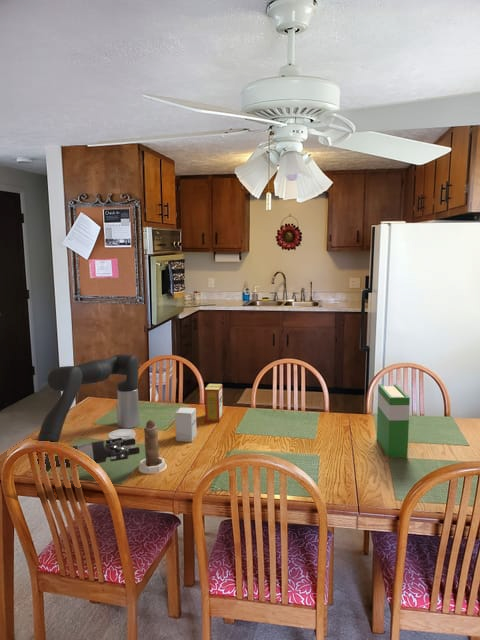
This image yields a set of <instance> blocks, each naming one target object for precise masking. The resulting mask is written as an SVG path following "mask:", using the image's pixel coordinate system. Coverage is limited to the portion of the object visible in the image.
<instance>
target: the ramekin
mask: <svg viewBox="0 0 480 640" xmlns="http://www.w3.org/2000/svg"><path fill="white" fill-rule="evenodd" d="M136 434H137V433H136V431H135V430H134V429H132V428H119V429H115V430H113V431H111V432H109V433H108V435H107V440H111V439H116V438H122V439H124V440H127V439H133V438H134V439H135V440H136ZM118 441H119V440H118ZM133 446H134V445H130V446H124V447H123V448H124V449H130V448H133Z"/></svg>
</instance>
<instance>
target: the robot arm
mask: <svg viewBox="0 0 480 640" xmlns="http://www.w3.org/2000/svg"><path fill="white" fill-rule="evenodd" d="M111 375H123V376H126V377H125V378H126V379H124V380H121V381H119V382H118V383H117V385H116V391H117V405H116V416H117V417H116V419H117V426H119V427H120V428H121V429H132V428H136V427H138V426H139V425H140V407H139V406H140V404H139V389H138V387H139V386H138V384H139V359H138V357H137V356H136V355H134V354H116V355H113V356H111V357H108V358H99V359H94V360H90V361H86V362H83V363H79V364H77V365H68V366H67V365H65V366H57V367H55V368H53V369H52V370H51V371H50V372H49V373H48V375H47V379H46V380H47V385H48V386H49V388H50V389H52V390H53V391H56V392H62V393H61V395H60V397H59V399H58V400H57V402H56V403H55V404H54V406H53V407H52V408H51V409H50V410H49V412H48V413H47V414H46V416H45V417H44V419H43V421H42V424H41V426H40V429H39V433H38V436H37V442H38V441H50V442H57V444H58V443H59V441H60V438H61V434H62V431H63V429H64V424H65V421H66V419H67V416H68V413H69V411H70V409H71V407H72V405H73V404H74V401H75V399H76V397H77V395H78V392H79V390H80V388H81V386H82V385H86V384H87V385H89V384H90V385H91V384H97V383H100V382H103V381H104V382H105V381H106V380H107V379H109V377H110V376H111ZM118 440H119V441H118ZM130 445H133V446H135V445H136V438H135V439H134V438H133V439H127V440H124V439H122V438H116V439H111V440H109V439H107V440H105V441H104V440H98V441H92V442H85V443H81V444H78V445H71V446H70V447H73V448H75V449H77V450H79V451H81V452H83V453H85V454H86V455H88V456H89V457H90V458H91V459H93V460H94V461H95V462H96V463H97V464H101V463H105V462H107V458H110V459H109V460H110V462H117V461H124V460H128V459H129V457H130V456H133V455H134V456H135V455H139V454H140V453H141V452H140V448H139V447H140V446H137V447H130V448H128V449H124V448H123V447H124V446H130ZM36 455H38V454H36ZM45 456H46V457H45V458H46V459H45V464H46V471H47V473H48V472H49V471H50V470H51V469H52V468H51V466H50V462H49V458H48V454H46V453H45ZM37 461H38V464H39V459H37ZM55 461H56V467H55V468H61V467H60V464H59V460H58V456H55ZM65 463H66V468H65V469H68V468H69V469H70V468H71V467H70V463H69V460H68V459H65ZM76 467H80V466H79V465H77V466H76ZM40 469H41V468H40Z"/></svg>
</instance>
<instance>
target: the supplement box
mask: <svg viewBox="0 0 480 640" xmlns="http://www.w3.org/2000/svg"><path fill="white" fill-rule="evenodd" d="M174 418H175V422H174V424H175V441H176V442H189V443H191V442H192V443H193V441H194V439H195V438H196V437H197V434H198V433H197V409H196V407H179V408H178V409H177V410H176V411H175V413H174Z"/></svg>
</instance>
